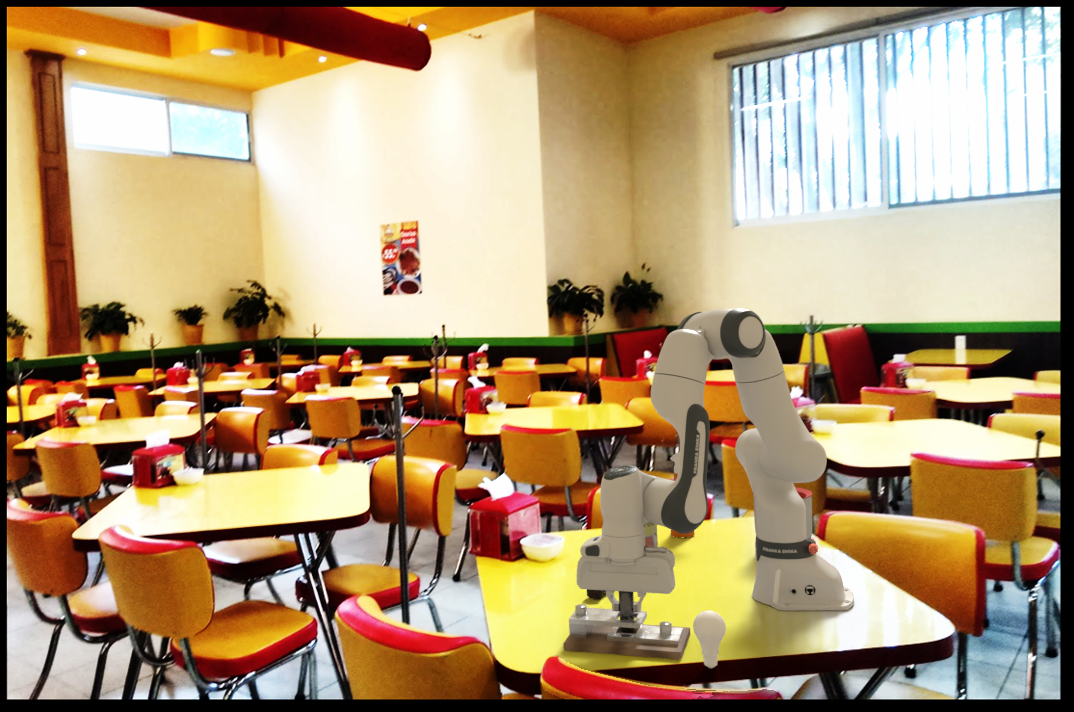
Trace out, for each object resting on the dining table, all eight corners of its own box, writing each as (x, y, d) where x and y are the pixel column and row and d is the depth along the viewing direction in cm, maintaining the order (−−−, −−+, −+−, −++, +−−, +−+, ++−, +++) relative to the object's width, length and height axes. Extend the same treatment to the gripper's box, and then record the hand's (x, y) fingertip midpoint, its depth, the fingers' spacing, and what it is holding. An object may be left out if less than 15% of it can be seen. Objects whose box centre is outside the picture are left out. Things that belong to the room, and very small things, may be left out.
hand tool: (601, 601, 204) (600, 582, 204) (586, 599, 206) (585, 580, 206) (634, 578, 220) (633, 560, 220) (620, 576, 222) (619, 558, 222)
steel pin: (636, 628, 179) (634, 588, 179) (633, 633, 177) (631, 593, 176) (622, 627, 180) (620, 587, 180) (619, 632, 178) (617, 592, 177)
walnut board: (690, 634, 181) (690, 627, 181) (681, 659, 169) (680, 652, 169) (580, 626, 189) (579, 619, 188) (563, 650, 176) (563, 643, 176)
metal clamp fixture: (683, 632, 178) (682, 606, 178) (678, 645, 172) (677, 618, 172) (578, 625, 185) (577, 600, 185) (569, 637, 179) (568, 611, 178)
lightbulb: (722, 660, 168) (720, 604, 167) (730, 673, 162) (728, 616, 161) (691, 662, 168) (689, 606, 167) (698, 675, 161) (696, 618, 161)
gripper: (676, 543, 177) (679, 608, 178) (580, 539, 184) (583, 603, 184) (671, 552, 171) (674, 620, 172) (572, 547, 178) (575, 613, 178)
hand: (626, 611), depth 178 cm, fingers closed on steel pin, 3 cm apart
